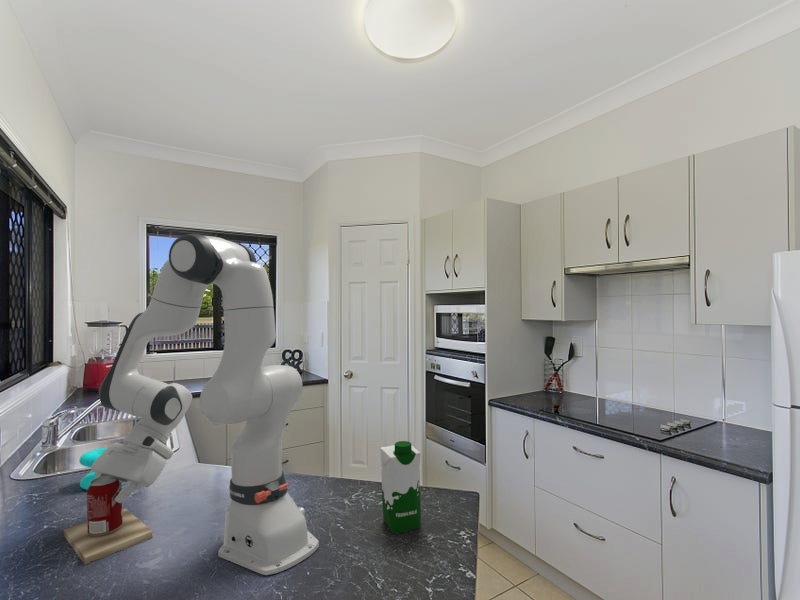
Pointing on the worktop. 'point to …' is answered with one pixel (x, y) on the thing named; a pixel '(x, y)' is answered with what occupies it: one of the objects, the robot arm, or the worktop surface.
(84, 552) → the cutting board
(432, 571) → the worktop surface
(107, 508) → the soda can
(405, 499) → the milk carton
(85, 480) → the donuts
